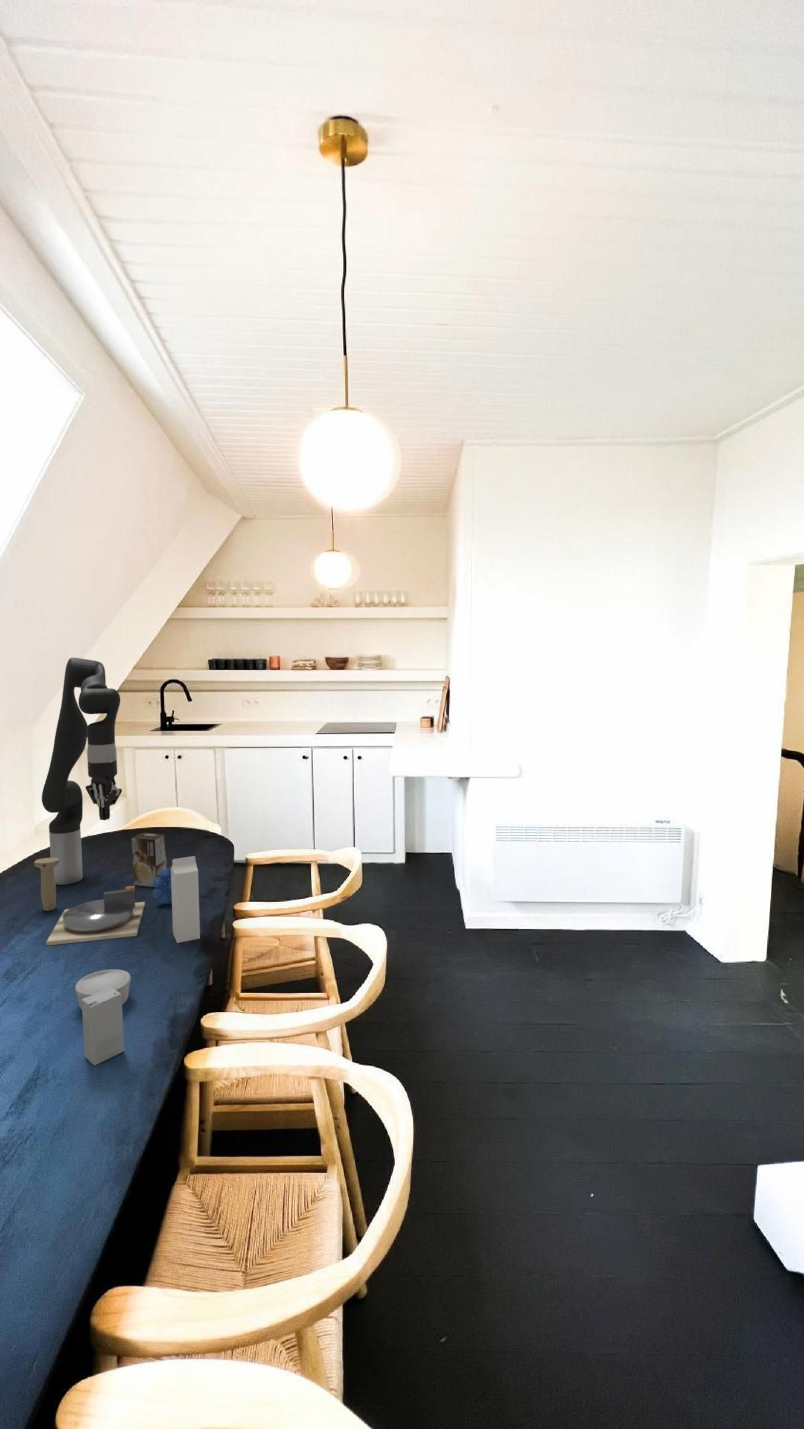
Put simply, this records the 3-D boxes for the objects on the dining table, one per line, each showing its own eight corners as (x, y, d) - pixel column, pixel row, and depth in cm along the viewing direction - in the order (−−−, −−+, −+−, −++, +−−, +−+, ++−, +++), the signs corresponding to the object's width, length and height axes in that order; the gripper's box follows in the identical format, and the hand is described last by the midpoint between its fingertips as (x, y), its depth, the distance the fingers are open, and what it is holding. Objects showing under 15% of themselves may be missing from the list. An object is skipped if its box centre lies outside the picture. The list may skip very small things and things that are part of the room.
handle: (58, 911, 194) (55, 862, 192) (34, 913, 192) (32, 863, 191) (63, 905, 198) (61, 857, 197) (40, 906, 197) (37, 858, 195)
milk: (200, 938, 176) (198, 859, 174) (176, 943, 173) (174, 862, 171) (195, 930, 182) (193, 852, 179) (172, 934, 179) (170, 856, 176)
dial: (135, 902, 197) (134, 876, 196) (136, 926, 181) (135, 897, 180) (66, 912, 190) (64, 884, 189) (60, 937, 174) (58, 907, 173)
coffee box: (168, 881, 219) (167, 834, 217) (157, 887, 213) (155, 839, 211) (144, 878, 221) (142, 832, 220) (132, 885, 215) (130, 837, 213)
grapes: (191, 895, 206) (190, 858, 205) (193, 903, 200) (192, 865, 199) (152, 900, 202) (150, 863, 201) (152, 909, 196) (151, 870, 194)
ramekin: (116, 985, 152) (115, 963, 152) (141, 1001, 145) (140, 979, 145) (66, 1005, 144) (65, 982, 143) (91, 1024, 137) (89, 1000, 136)
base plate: (65, 912, 193) (64, 908, 193) (144, 904, 199) (144, 901, 199) (46, 945, 172) (46, 941, 172) (136, 935, 178) (136, 931, 178)
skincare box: (114, 1043, 130) (111, 985, 129) (125, 1052, 127) (123, 993, 126) (83, 1058, 125) (80, 997, 124) (93, 1067, 122) (90, 1006, 121)
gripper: (74, 759, 185) (77, 819, 186) (106, 763, 178) (109, 825, 180) (98, 755, 191) (100, 813, 193) (129, 759, 185) (131, 819, 187)
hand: (104, 819), depth 187 cm, fingers closed
